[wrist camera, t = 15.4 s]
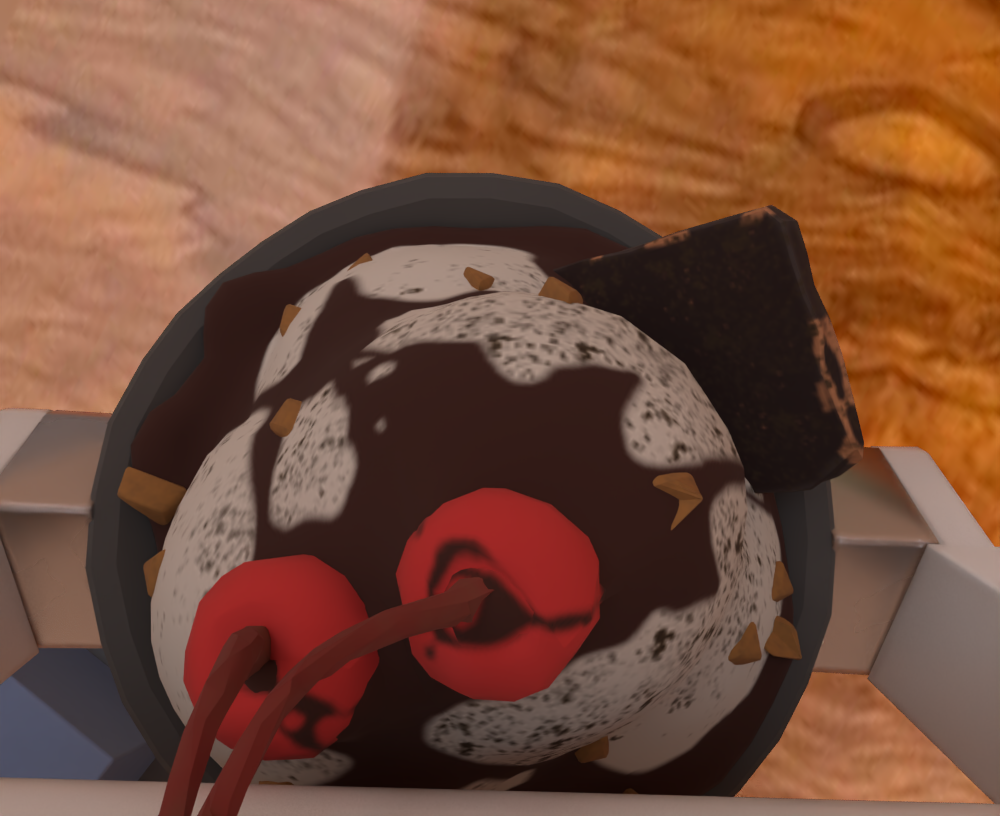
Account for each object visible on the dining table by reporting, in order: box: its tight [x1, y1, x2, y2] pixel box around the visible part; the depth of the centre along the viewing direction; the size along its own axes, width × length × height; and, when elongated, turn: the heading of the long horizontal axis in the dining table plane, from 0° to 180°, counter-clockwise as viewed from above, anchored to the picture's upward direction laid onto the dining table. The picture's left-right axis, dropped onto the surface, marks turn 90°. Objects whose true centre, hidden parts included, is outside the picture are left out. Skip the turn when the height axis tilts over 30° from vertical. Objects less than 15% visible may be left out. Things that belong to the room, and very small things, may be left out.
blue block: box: [0, 648, 155, 781], centre depth 22 cm, size 5×5×5 cm
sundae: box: [85, 173, 864, 816], centre depth 10 cm, size 7×7×15 cm
